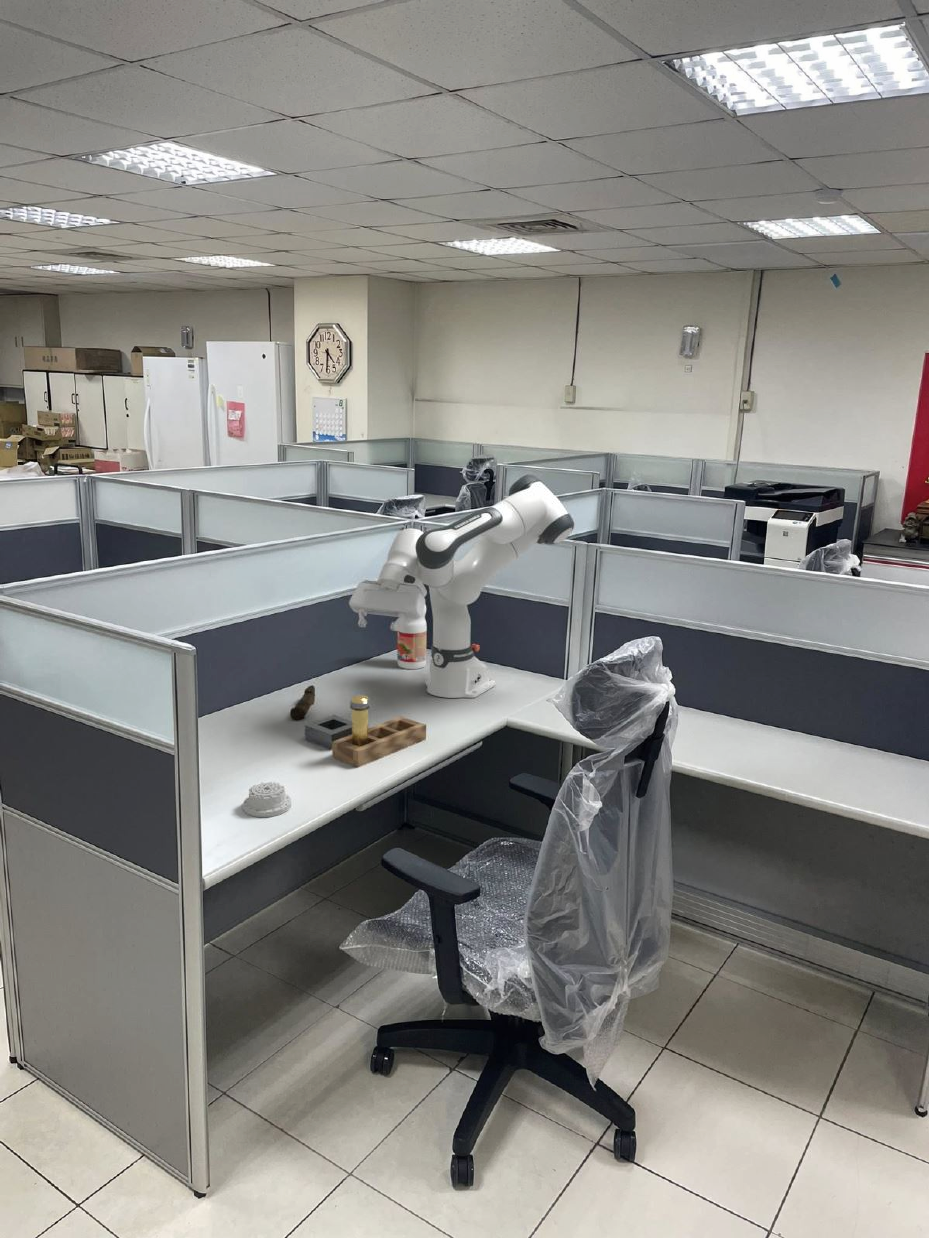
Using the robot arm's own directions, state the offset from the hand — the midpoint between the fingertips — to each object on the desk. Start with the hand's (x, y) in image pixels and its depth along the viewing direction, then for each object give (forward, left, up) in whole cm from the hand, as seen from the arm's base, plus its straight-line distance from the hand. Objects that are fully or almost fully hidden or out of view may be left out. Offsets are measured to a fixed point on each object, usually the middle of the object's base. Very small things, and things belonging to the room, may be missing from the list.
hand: (377, 628), depth 227 cm
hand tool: (+2, -26, -28) cm, 39 cm away
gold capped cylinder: (+15, +9, -28) cm, 33 cm away
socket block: (+12, -4, -28) cm, 31 cm away
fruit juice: (-49, -33, -28) cm, 65 cm away
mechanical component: (+48, +15, -28) cm, 57 cm away
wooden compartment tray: (+8, +9, -28) cm, 30 cm away
